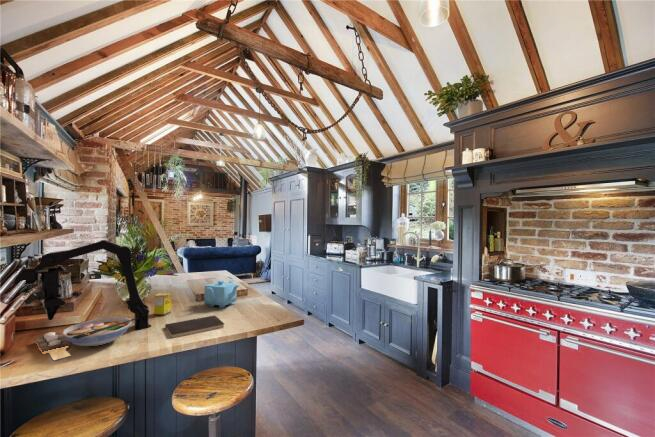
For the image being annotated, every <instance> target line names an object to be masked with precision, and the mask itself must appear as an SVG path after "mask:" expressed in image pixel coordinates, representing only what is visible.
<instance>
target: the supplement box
mask: <svg viewBox="0 0 655 437" xmlns="http://www.w3.org/2000/svg"><path fill="white" fill-rule="evenodd" d="M171 311H172V293H171V292H159V293H157V294H154V296H153V315H154V316H159V315H160V316H162V317H163V316H166V315H170V313H171ZM160 316H159V317H160Z"/></svg>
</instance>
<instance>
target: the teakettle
mask: <svg viewBox="0 0 655 437" xmlns="http://www.w3.org/2000/svg"><path fill="white" fill-rule="evenodd" d="M240 286H241V285H240V284H237V283H236V282H234V279H231V280H229V281H228V282H227V281H226V282H225V281H224V280H217V281H216V282H213V283H209V284H206V285H204V302H203V304H205V305H208V306H209V307H210V308H213V307H215V306H219V307H218V308H219V309H224V308H225V306H230V305H232V303H234V302H236V301H237V289H238V288H239V287H240Z"/></svg>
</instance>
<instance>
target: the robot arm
mask: <svg viewBox="0 0 655 437" xmlns="http://www.w3.org/2000/svg"><path fill="white" fill-rule="evenodd" d="M101 250H104V251H107V252H109V253H111V254H113V255H116V257H117V259H118V261H119V263H120V265H121V267H122V272H123V274H124V279H125V283H126V287H127V290H128V297H126V299H125V303H126V304H127V310H129V311H130V312H131V314H134V319H135V318H138V319H135V320H133V321H134V324H133V325H131V328H132V329H133V330H135V331H138V330H142V329H146V328H150V327H152V325H151V324H150V323H149V318H150V317H149V316H150V315H149V313H150V308H149V306H148V305H146V303H144V300H143V298H142V296H141V294H140V292H139V290H138V286H137V282H136V278H135V274H134V269H133V265H132V249H131V248H130V246H128V245H119V244H116V243H113V242H111V241H108V240H107V239H102V240H99V241H96V242H93V243H89V244H86V245H82V246H78V247H76V248H71V249H67V250H58V251H53V252H51V251H50V252H48V253H46V254H43V255H42V256H41V257H40V259H39V263H38V264H37V265H35V267H28V268H27V267H26V268H25V269H24V270H23V271H22V273H20V274H19V275H18V276H17V277H16V279H15V282H14V281H13V282H14V283H13V284H14V285H15V284H17V283H19V282H20V281H22V280H26V283H25V284H24V285H23V286H25V285H26V286H28V285H29V286H30V285H36V284H37V282H40V283H41V284H40V285H39V286H38V289H37V290H33V291H34V292H33V291H32V292H33V293H32V294H31V295H30V296H29V297H28V298H27V300H25V302H23V303H24V305H26V306H27V305H29V304H32V303H34V302H36V301H37V302H40V303H39V305H40V306H41V307H42V308H44V311H45V313H46V317H47V319H48V321H52V320H54V317H55V316H56V313H57V312H58V310H59V308H60V307H61V306H64V305H66V299H64V298H63V297H62V294H61V293H60V292H61V290H60V288H61V287H62V285H61V283H60V282H61V272H65V271H67V268H66V267H63V265H59V264H62V263H65V262H66V261H68V260H70V259H73V258H77V257H80V256H84V255H86V254H90V253H94V252H97V251H101ZM58 265H59V266H58ZM55 266H58V267H55ZM20 268H21V267H19V268H16V272H15V274H16V273H17V271H18V270H19V269H20ZM46 268H48V269H47V270H44V269H46ZM40 280H41V281H40Z"/></svg>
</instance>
